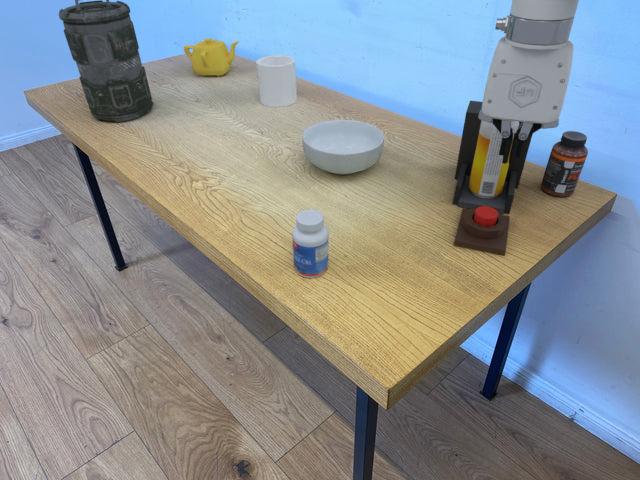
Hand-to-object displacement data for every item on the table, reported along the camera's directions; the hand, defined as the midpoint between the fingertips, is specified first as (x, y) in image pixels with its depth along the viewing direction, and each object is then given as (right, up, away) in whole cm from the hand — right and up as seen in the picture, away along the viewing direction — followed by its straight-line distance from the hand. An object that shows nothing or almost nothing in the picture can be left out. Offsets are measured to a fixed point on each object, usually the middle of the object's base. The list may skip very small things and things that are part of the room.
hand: (508, 159), depth 71 cm
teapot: (-62, +41, +79) cm, 109 cm away
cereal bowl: (-23, +4, +29) cm, 38 cm away
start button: (-1, -9, +7) cm, 12 cm away
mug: (-40, +27, +60) cm, 77 cm away
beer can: (+3, -3, +18) cm, 18 cm away
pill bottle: (-30, -17, +3) cm, 34 cm away
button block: (-1, -11, +9) cm, 14 cm away
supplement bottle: (+17, -3, +20) cm, 26 cm away
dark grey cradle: (+4, -2, +20) cm, 21 cm away
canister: (-81, +22, +55) cm, 100 cm away
